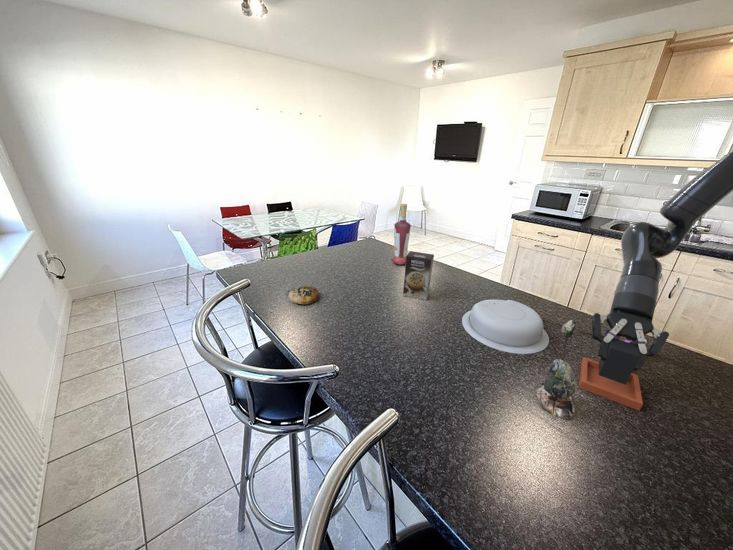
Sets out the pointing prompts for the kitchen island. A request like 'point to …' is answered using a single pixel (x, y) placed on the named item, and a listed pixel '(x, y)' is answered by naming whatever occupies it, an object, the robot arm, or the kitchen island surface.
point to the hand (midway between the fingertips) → (618, 364)
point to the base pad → (610, 385)
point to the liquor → (401, 237)
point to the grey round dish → (506, 326)
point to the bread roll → (304, 295)
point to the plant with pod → (559, 383)
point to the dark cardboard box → (418, 275)
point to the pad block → (619, 361)
